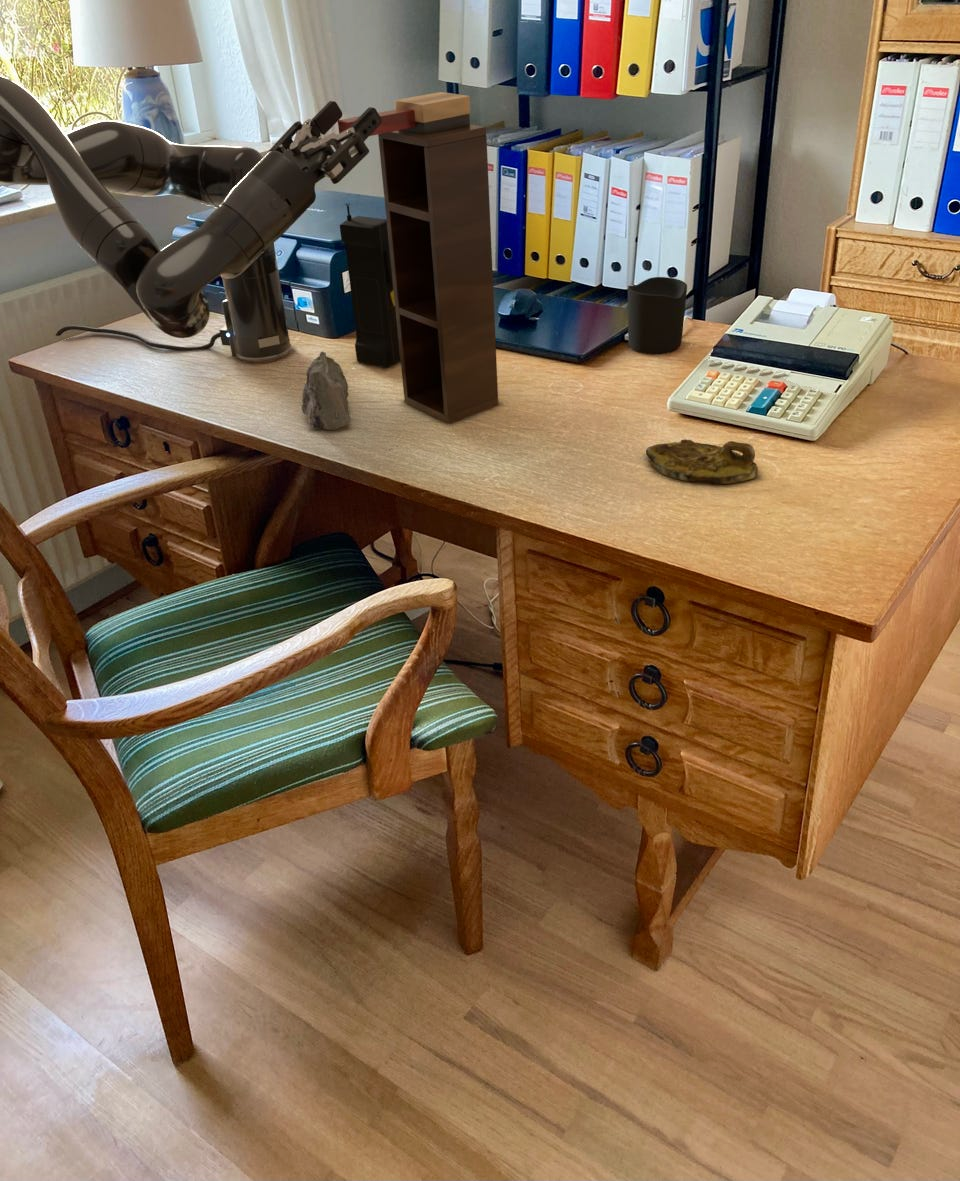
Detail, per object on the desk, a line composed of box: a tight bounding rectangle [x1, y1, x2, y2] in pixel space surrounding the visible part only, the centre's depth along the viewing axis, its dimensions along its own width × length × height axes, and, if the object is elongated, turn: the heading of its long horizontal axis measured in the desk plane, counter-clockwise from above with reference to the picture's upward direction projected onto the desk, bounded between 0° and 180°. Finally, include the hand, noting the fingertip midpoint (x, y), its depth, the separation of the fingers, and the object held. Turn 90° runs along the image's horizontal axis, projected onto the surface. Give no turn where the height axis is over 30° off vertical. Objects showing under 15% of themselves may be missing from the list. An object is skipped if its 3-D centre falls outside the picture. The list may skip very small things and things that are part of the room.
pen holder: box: [627, 276, 688, 356], centre depth 167 cm, size 9×9×10 cm
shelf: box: [377, 123, 499, 425], centre depth 144 cm, size 11×10×39 cm
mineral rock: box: [301, 351, 351, 431], centre depth 152 cm, size 13×11×10 cm
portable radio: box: [339, 203, 401, 368], centre depth 164 cm, size 8×6×25 cm
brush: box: [337, 91, 471, 137], centre depth 130 cm, size 6×18×4 cm, turn 129°
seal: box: [645, 439, 758, 485], centre depth 133 cm, size 9×5×15 cm
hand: (356, 110), depth 126 cm, fingers open, 8 cm apart
